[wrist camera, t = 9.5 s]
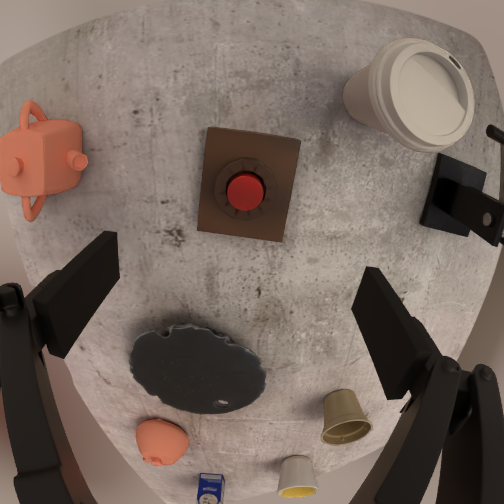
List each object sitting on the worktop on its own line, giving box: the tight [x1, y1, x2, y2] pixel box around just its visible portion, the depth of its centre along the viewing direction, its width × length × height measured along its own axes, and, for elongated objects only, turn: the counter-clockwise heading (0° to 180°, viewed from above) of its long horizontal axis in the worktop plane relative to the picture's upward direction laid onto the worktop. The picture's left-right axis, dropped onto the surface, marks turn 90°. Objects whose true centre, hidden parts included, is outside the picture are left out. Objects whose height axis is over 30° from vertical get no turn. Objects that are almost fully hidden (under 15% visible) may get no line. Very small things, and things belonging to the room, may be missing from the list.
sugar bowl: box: [136, 419, 189, 466], centre depth 54 cm, size 12×14×10 cm
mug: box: [277, 456, 319, 497], centre depth 60 cm, size 14×10×10 cm
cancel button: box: [227, 173, 263, 211], centre depth 30 cm, size 4×4×2 cm
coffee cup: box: [343, 38, 474, 152], centre depth 23 cm, size 10×10×15 cm
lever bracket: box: [420, 153, 504, 247], centre depth 28 cm, size 10×9×13 cm
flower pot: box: [321, 389, 373, 446], centre depth 47 cm, size 9×9×9 cm
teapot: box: [0, 100, 88, 222], centre depth 28 cm, size 14×12×10 cm
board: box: [129, 322, 266, 415], centre depth 44 cm, size 22×22×5 cm
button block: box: [197, 127, 301, 242], centre depth 33 cm, size 12×10×4 cm
